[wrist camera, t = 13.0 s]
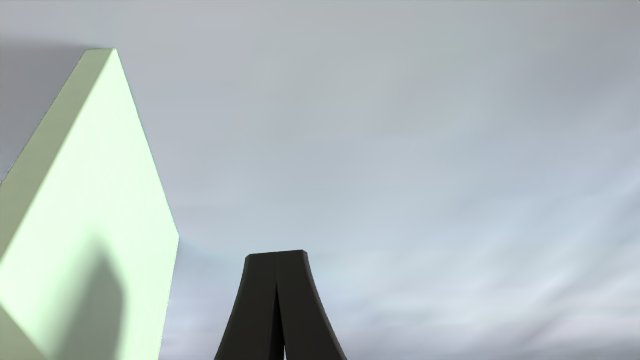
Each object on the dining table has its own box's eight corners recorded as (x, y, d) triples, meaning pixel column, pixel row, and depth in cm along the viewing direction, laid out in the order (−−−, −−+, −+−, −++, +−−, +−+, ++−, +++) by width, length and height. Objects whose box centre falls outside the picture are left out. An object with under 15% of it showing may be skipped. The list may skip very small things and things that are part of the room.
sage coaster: (179, 237, 17) (140, 466, 11) (157, 239, 17) (107, 469, 11) (116, 46, 12) (-10, 287, 6) (84, 48, 12) (-71, 292, 6)
